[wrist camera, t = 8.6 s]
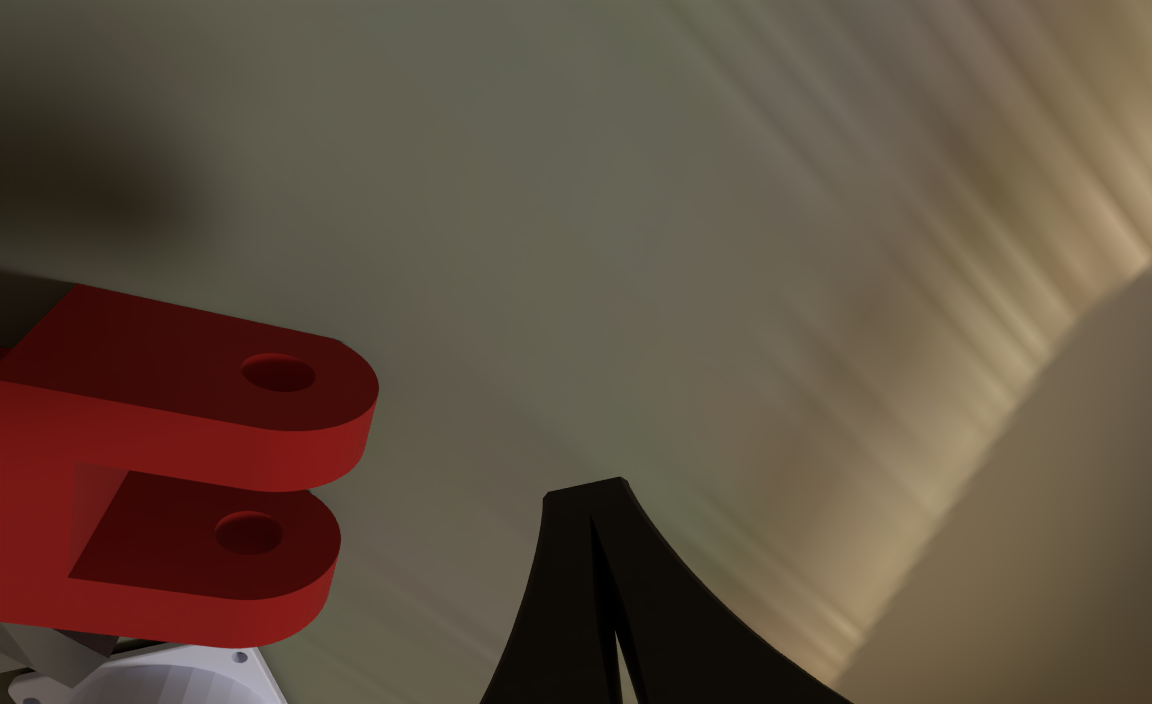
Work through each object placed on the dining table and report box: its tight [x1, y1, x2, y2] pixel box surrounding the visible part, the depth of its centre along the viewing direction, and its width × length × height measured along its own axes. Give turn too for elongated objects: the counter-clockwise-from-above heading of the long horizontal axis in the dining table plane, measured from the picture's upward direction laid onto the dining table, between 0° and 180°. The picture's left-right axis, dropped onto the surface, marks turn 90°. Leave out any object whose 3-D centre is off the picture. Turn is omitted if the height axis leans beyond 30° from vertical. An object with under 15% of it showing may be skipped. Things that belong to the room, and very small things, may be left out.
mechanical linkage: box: [0, 283, 379, 649], centre depth 21 cm, size 16×7×5 cm, turn 72°
